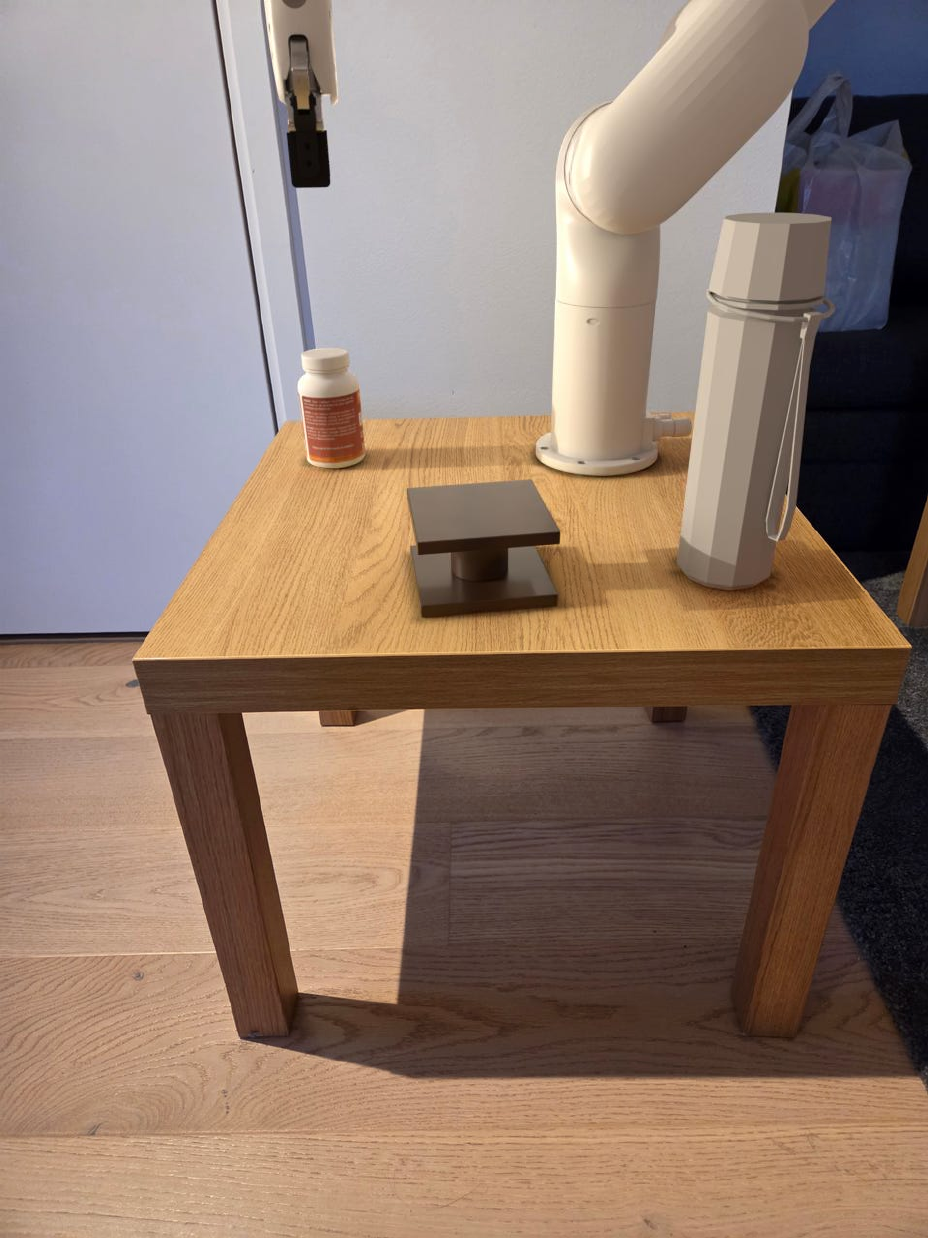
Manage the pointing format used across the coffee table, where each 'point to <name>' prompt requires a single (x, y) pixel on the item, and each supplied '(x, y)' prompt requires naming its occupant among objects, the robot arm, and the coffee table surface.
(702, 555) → the water bottle
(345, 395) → the pill bottle
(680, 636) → the coffee table surface
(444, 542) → the stand
